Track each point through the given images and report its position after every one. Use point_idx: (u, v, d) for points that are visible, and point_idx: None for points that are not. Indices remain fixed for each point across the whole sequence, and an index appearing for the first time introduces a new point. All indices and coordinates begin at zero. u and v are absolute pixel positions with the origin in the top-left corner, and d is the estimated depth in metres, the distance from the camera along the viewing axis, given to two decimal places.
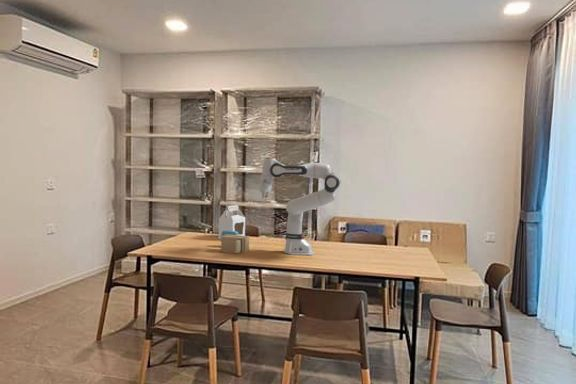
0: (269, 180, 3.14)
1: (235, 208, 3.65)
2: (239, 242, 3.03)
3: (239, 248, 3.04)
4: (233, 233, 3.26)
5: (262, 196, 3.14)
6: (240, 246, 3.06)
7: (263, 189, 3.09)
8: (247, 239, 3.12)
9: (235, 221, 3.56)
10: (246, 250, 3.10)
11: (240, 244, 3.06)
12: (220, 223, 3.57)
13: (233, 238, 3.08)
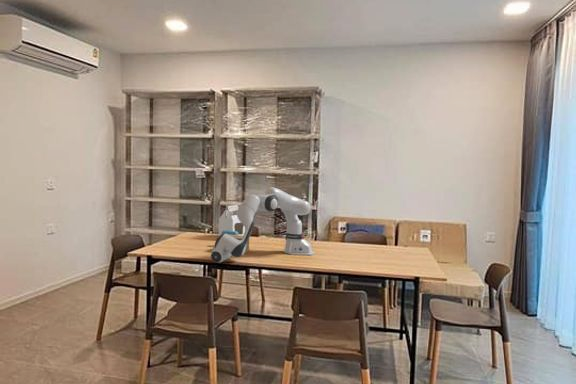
0: None
1: (234, 208, 3.65)
2: None
3: None
4: (233, 233, 3.26)
5: None
6: None
7: None
8: None
9: (235, 221, 3.56)
10: (246, 250, 3.10)
11: None
12: (220, 223, 3.57)
13: None
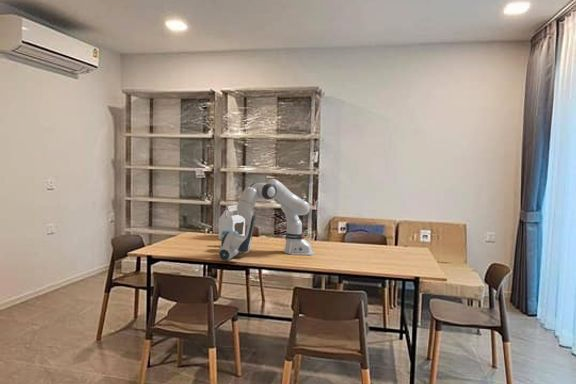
0: None
1: (234, 208, 3.65)
2: None
3: None
4: None
5: None
6: None
7: None
8: None
9: (235, 221, 3.56)
10: None
11: None
12: (220, 223, 3.57)
13: None
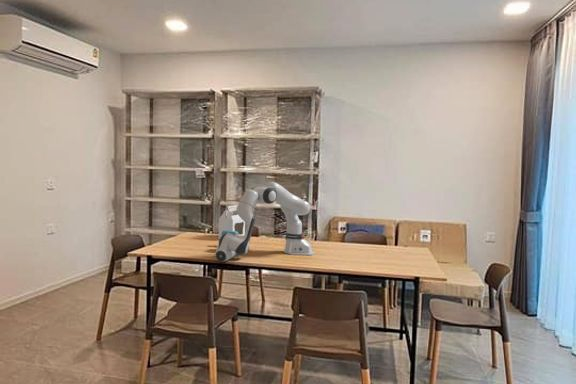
0: None
1: (235, 208, 3.65)
2: None
3: None
4: (233, 233, 3.26)
5: None
6: None
7: None
8: None
9: (235, 221, 3.56)
10: None
11: None
12: (220, 223, 3.57)
13: None
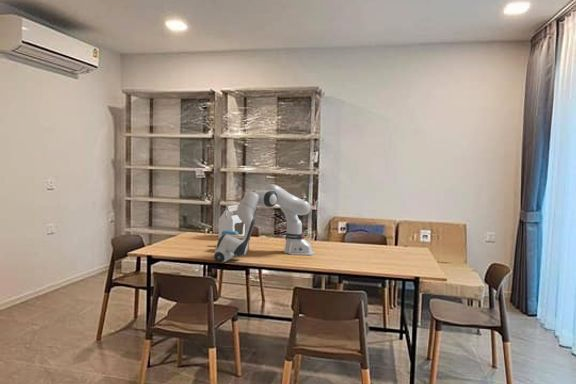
0: None
1: (234, 208, 3.65)
2: None
3: None
4: (233, 233, 3.26)
5: None
6: None
7: None
8: None
9: (235, 221, 3.56)
10: None
11: None
12: (220, 223, 3.57)
13: None
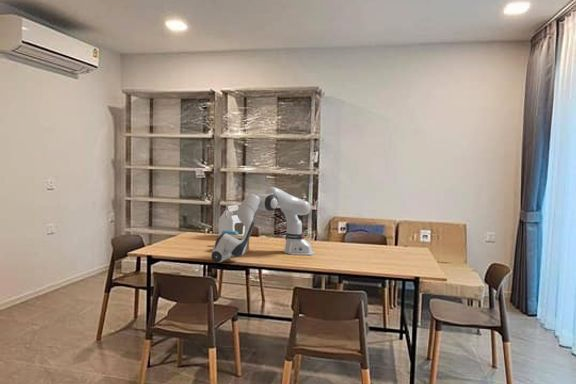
0: None
1: (235, 208, 3.65)
2: None
3: None
4: (233, 233, 3.26)
5: None
6: None
7: None
8: None
9: (235, 221, 3.56)
10: (246, 250, 3.10)
11: None
12: (220, 223, 3.57)
13: None
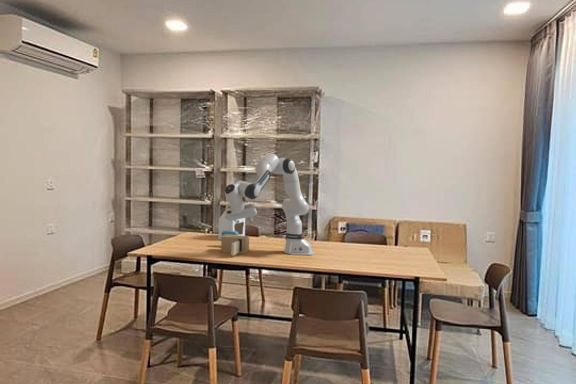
0: None
1: None
2: (235, 244, 2.94)
3: (235, 251, 2.95)
4: (233, 233, 3.26)
5: (252, 219, 2.84)
6: (236, 248, 2.97)
7: (256, 210, 2.80)
8: (247, 239, 3.12)
9: None
10: (246, 250, 3.10)
11: (236, 246, 2.97)
12: (220, 223, 3.57)
13: (233, 238, 3.08)
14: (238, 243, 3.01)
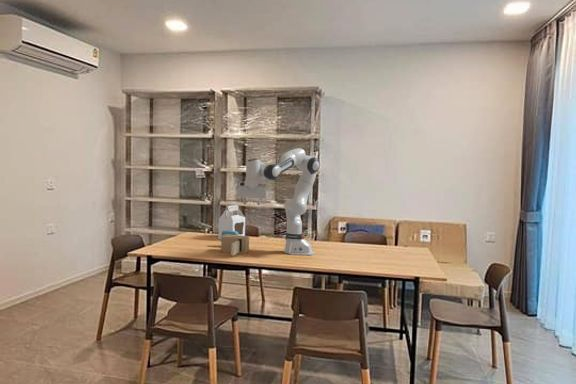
0: None
1: (234, 208, 3.65)
2: (235, 244, 2.94)
3: (235, 251, 2.95)
4: (233, 233, 3.26)
5: (259, 203, 2.80)
6: (236, 248, 2.97)
7: (267, 194, 2.80)
8: (247, 239, 3.12)
9: (235, 221, 3.56)
10: (246, 250, 3.10)
11: (236, 246, 2.97)
12: (220, 223, 3.57)
13: (233, 238, 3.08)
14: (238, 243, 3.01)
